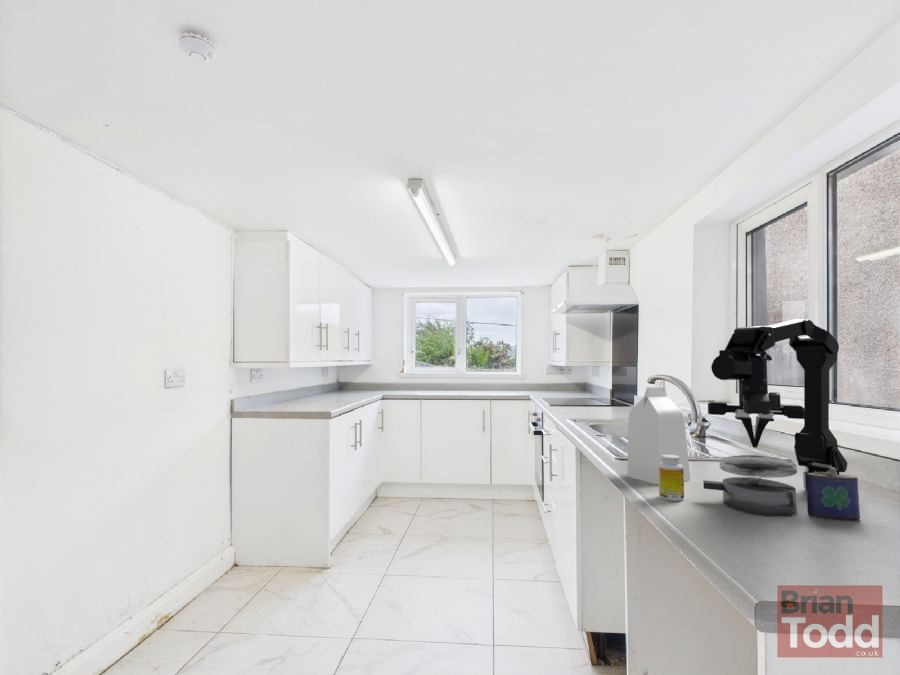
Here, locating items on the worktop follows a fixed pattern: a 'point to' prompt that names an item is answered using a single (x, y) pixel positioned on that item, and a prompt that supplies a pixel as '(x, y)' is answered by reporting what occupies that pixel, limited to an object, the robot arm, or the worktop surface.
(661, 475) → the supplement bottle
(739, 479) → the cooker pot
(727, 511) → the worktop surface
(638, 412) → the milk
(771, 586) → the worktop surface
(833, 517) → the flask
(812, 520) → the worktop surface
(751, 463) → the cooker lid
